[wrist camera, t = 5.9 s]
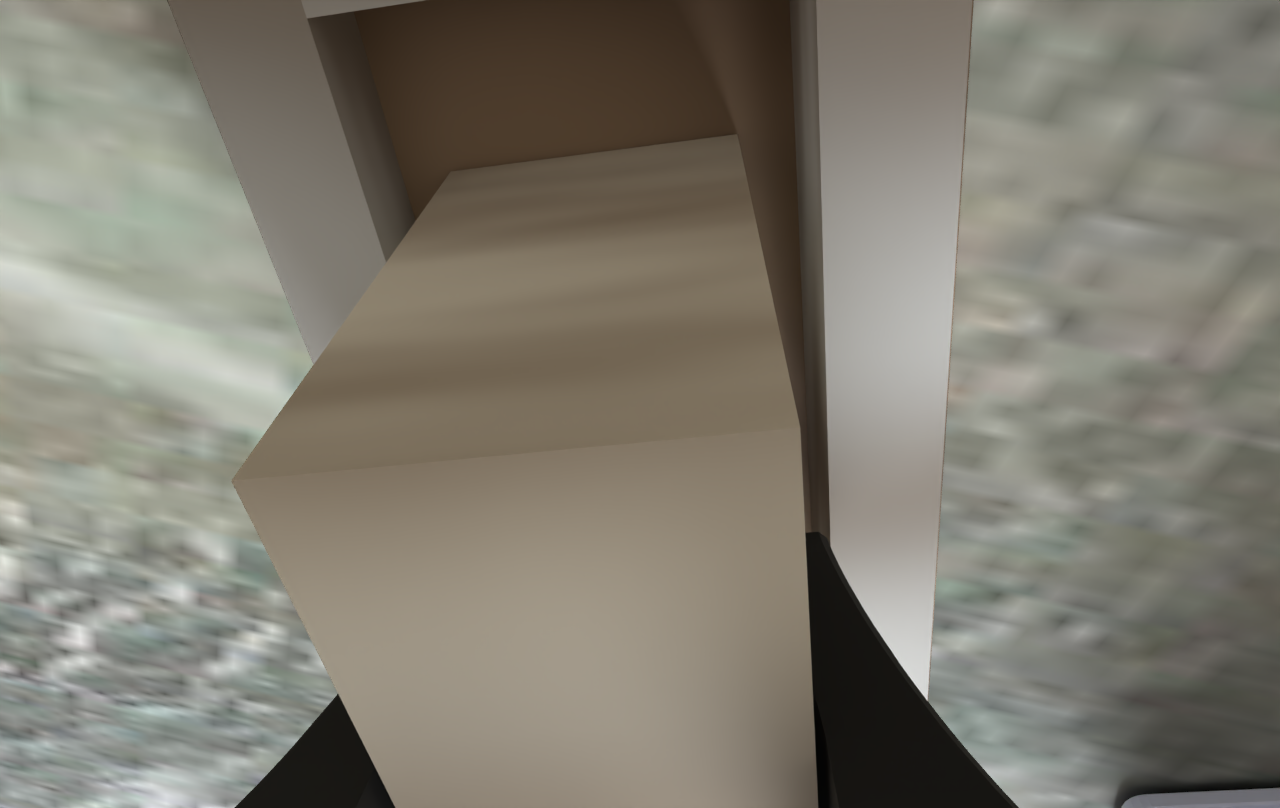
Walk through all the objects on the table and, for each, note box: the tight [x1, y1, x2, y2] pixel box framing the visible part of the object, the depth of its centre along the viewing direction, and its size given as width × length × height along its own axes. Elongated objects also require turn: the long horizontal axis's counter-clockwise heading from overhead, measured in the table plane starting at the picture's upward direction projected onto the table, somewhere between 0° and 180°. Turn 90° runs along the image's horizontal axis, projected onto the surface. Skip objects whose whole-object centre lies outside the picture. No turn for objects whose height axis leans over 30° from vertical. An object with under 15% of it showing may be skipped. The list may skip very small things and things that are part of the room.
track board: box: [167, 0, 974, 701], centre depth 14 cm, size 18×10×4 cm, turn 8°
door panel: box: [232, 134, 818, 808], centre depth 11 cm, size 10×4×7 cm, turn 8°
